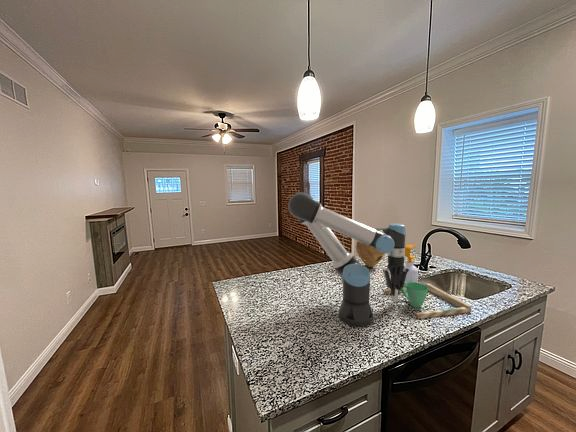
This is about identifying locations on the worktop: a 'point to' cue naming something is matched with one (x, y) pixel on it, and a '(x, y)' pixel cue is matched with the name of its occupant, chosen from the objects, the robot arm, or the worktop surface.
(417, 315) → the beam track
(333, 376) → the worktop surface
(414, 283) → the mug
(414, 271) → the soap bottle
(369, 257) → the bowl
